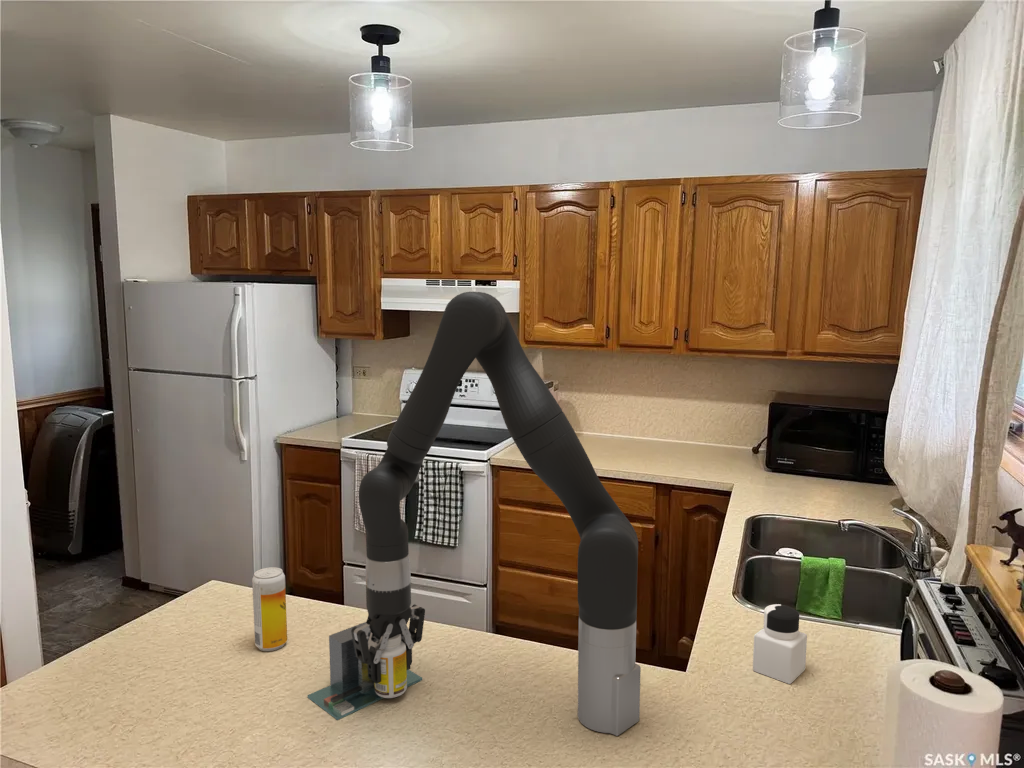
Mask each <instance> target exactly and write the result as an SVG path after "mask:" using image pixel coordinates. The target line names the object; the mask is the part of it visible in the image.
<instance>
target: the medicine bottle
mask: <svg viewBox="0 0 1024 768" xmlns="http://www.w3.org/2000/svg"><path fill="white" fill-rule="evenodd" d="M799 628H800V613H799V612H798V610H797V609H795V608H793V607H792V606H789V605H786V604H781V603H780V604H779V603H778V604H777V603H775V604H770V605H767V606H766V607H765V608H764V611H763V628H762V629H760V630H759V631H758V632H756V633H755V634H754V636H753V653H752V654H753V655H752V656H753V657H752V670H753V672H755V673H758V674H761V675H764V676H766V677H769V678H772V679H774V680H778V681H780V682H783V683H785V684H787V685H791V684H792V683H793V682H794V681H795V680H796V679H797V678H798V677H799V676H800V675H802V674H803V672H804V671H805V670H806V664H807V663H806V661H807V660H806V659H807V646H808V645H807V644H808V643H807V642H808V635H807V633H805V632H801V631H799Z"/></svg>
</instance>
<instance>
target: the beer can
mask: <svg viewBox="0 0 1024 768" xmlns="http://www.w3.org/2000/svg"><path fill="white" fill-rule="evenodd" d="M251 581H252V607H253V632H254V645H255V646H256V647H257V648H258V650H260V651H261V652H273V651H277V650H280V649H282V648H283V647H284V646H285V644H286V643H287V641H288V626H287V623H288V621H287V619H288V618H287V599H286V597H287V596H286V575H285V573H284V572H283V569H282V568H280V567H275V566H274V567H273V566H271V567H270V566H269V567H263V568H261V569H258V570H256V571H255V572H254V573H253V576H252V578H251Z"/></svg>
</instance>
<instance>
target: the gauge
mask: <svg viewBox="0 0 1024 768" xmlns="http://www.w3.org/2000/svg"><path fill="white" fill-rule="evenodd" d="M365 624H366V621H364V622H362V623H359V624H356V625H354V626H351V627H349V628H346V629H343V630H340V631H337V632H335V633H332V634H330V635H328V641H329V642H328V646H329V647H328V649H329V676H330V677H329V679H330V683H329V684H330V685H328V686H325V687H323V688H321V689H318V690H316V691H313V692H312V693H310V694H307V696H306V697H307V698H308V699H309V700H310V701H311V702H313V703H314V704H315V705H317V706H318V707H320V708H321V709H322V710H323V711H324V712H326V713H327V714H329V715H330V716H331V717H333V718H334V719H335V720H336V721H338V720H341V719H342V718H343V719H344V718H345V717H346V716H347V717H348V716H349V715H351V714H353V713H355V712H357V711H359V710H361V709H364V708H366V707H367V706H370V705H373V704H374V703H377V702H378V701H381V700H383V699H384V698H383V697H380V696H378V695H377V694H376V692H375V688H374V689H372V690H370V691H367V692H365V693H363V694H362V693H360V692H356V693H354V694H352V695H350V696H348V697H345V698H343V699H341V700H339V701H336V702H334V703H332V702H331V699H330V698H332V697H335V696H337V695H339V694H341V693H344V692H346V691H348V690H350V689H353V688H355V687H357V686H359V672H358V659H357V657H356V653H355V648H354V643H353V638H352V633H351V630H352V628H353V627H357V628H360V627H361V626H363V625H365ZM370 634H371V631H369V632H368V637H370ZM368 640H369V638H368V639H367V643H368ZM377 641H378V639H377ZM421 681H423V677H422V676H421V675H418V674H417V673H415V672H414V671H412V670H410V669H408V670H407V688H408V687H410V686H413V685H415V684H417V683H419V682H421Z"/></svg>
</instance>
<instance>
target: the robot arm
mask: <svg viewBox="0 0 1024 768" xmlns="http://www.w3.org/2000/svg"><path fill="white" fill-rule="evenodd" d="M475 359H476V361H477V362H478V363H479V365H480V366H481V368H482V370H483V371H484V373H485V374H486V376H487V378H488V380H489V381H490V383H491V386H492V388H493V391H494V394H495V397H496V400H497V404H498V406H499V410H500V413H501V416H502V418H503V422H504V424H505V426H506V428H507V431H508V433H509V434H510V437H511V439H512V440H513V442H514V443H515V445H516V447H517V449H518V451H519V452H520V454H521V456H522V457H523V459H524V460H525V462H526V464H527V465H528V466H529V467H530V468H531V471H533V472H534V473H535V476H537V478H539V479H540V480H541V481H542V482H543V484H545V485H546V486H547V487H548V488H549V489H550V490H551V491H552V492H553V493H554V494H555V496H557V498H558V499H559V500H560V501H561V503H562V504H563V506H564V507H565V509H566V511H567V513H568V514H569V517H570V518H571V521H572V523H573V524H574V527H575V528H576V530H577V533H578V536H579V538H580V540H579V541H580V542H579V545H578V549H577V604H578V642H577V643H578V645H577V648H578V649H577V650H578V652H577V654H578V655H577V658H578V659H577V718H578V721H579V722H580V723H581V724H582V725H583V726H584V727H586V728H587V729H589V730H591V731H595V732H599V733H603V734H604V733H605V734H612V735H614V736H616V737H617V736H619V735H621V734H622V733H624V732H625V731H627V730H628V729H630V728H631V727H633V726H634V725H635V724H636V723H638V722H640V715H641V714H640V712H641V711H640V707H641V704H640V703H641V702H640V701H641V670H642V669H641V668H642V667H641V666H640V665H639V664H638V663H636V648H637V615H638V614H637V613H638V610H637V609H638V597H637V596H638V572H639V571H638V570H639V569H638V564H639V539H638V535H637V531H636V530H635V528H634V526H633V525H632V523H631V522H630V520H629V519H628V517H626V515H625V514H624V512H623V511H622V510H621V508H620V507H619V506H618V504H617V503H616V501H614V499H613V498H612V496H611V495H610V493H609V492H608V491H607V489H606V487H605V486H604V485H603V483H602V482H601V480H600V478H599V476H598V474H597V472H596V470H595V468H594V467H593V464H592V462H591V460H590V458H589V455H588V454H587V452H586V450H585V448H584V447H583V444H582V442H581V441H580V439H579V437H578V435H577V433H576V432H575V430H574V428H573V427H572V424H571V422H570V421H569V419H568V417H567V416H566V414H565V412H564V411H563V408H561V406H560V404H559V402H557V400H556V398H555V397H554V395H553V393H552V392H551V390H550V389H549V387H548V386H547V385H546V383H545V382H544V380H543V378H542V377H541V376H540V374H539V373H538V371H537V370H536V369H535V367H534V366H533V365H532V363H531V362H530V360H529V358H528V356H527V355H526V353H525V351H524V349H523V347H522V345H521V343H520V340H519V339H518V336H517V334H516V332H515V329H514V327H513V325H512V324H511V321H510V318H509V316H508V314H507V311H506V309H505V308H504V306H503V305H502V303H501V302H500V301H499V300H498V299H497V298H496V297H495V296H493V295H491V294H489V293H487V292H482V291H465V292H462V293H460V294H459V293H458V294H457V295H456V296H454V297H452V299H450V301H449V302H448V303H447V304H446V306H445V309H444V310H443V314H442V317H441V320H440V322H439V325H438V327H437V332H436V335H435V338H434V341H433V344H432V347H431V350H430V351H429V355H428V356H427V359H426V362H425V365H424V366H423V368H422V369H423V370H422V371H421V373H420V375H419V378H418V380H417V381H416V382H415V386H414V388H413V389H412V391H411V393H410V395H409V397H408V399H407V401H406V403H405V404H404V405H403V408H402V410H401V411H400V414H399V415H398V417H397V420H395V421H396V422H395V423H394V425H393V426H392V429H391V430H390V433H389V435H388V438H387V439H386V440H387V441H386V446H387V448H386V451H385V452H384V454H383V456H382V459H380V461H379V463H378V465H377V466H376V467H374V468H372V469H371V470H369V471H368V472H367V473H366V474H364V476H363V477H362V479H361V480H360V483H359V488H358V505H359V509H360V514H361V518H362V522H363V526H364V529H365V533H366V535H365V538H366V539H365V542H366V545H365V546H366V547H365V548H366V559H365V560H366V561H365V597H366V598H365V600H366V603H365V605H366V610H367V619H366V621H365V622H366V624H365V625H363V626H361V627H360V628H357V627H353V626H352V627H353V628H352V630H351V633H352V638H353V643H354V648H355V653H356V657H357V659H359V660H360V661H362V662H364V663H365V664H367V666H368V678H369V679H370V680H371V681H373V682H374V683H376V684H377V683H379V682H381V665H380V662H379V661H380V657H381V654H382V651H383V650H385V648H386V645H387V641H388V639H389V638H391V637H394V636H396V635H399V634H401V641H402V642H404V643H405V645H406V665H407V670H408V669H409V670H410V669H411V666H412V663H413V648H414V646H415V644H416V643H420V642H421V641H422V638H423V632H424V623H425V616H426V615H425V614H426V609H425V608H423V607H422V606H421V605H417V604H416V603H414V604H413V605H412V579H411V562H410V555H409V554H410V553H409V552H410V551H409V528H408V525H407V523H406V521H404V520H403V519H402V517H401V501H402V500H403V499H406V497H407V495H408V494H409V493H410V491H411V490H412V488H413V486H414V484H415V482H416V481H417V477H418V476H419V473H420V470H421V468H422V465H423V461H424V459H425V457H426V456H427V455H428V453H429V451H430V449H431V448H432V446H433V444H434V442H435V440H436V439H437V437H438V436H439V435H438V434H439V433H440V431H441V429H442V428H443V426H444V423H445V420H446V418H447V415H448V413H449V412H450V411H449V410H450V407H451V404H452V401H453V399H454V396H455V393H456V391H457V388H458V387H459V384H460V383H461V381H462V379H463V376H464V375H465V374H466V372H467V370H468V368H470V366H471V364H472V363H473V362H474V361H475ZM411 605H412V606H411ZM408 623H409V625H408ZM369 631H371V634H370V637H368V632H369ZM368 638H369V640H368V643H367V639H368ZM377 639H379V640H380V642H378V641H377ZM368 644H369V646H368ZM374 651H375V652H374Z"/></svg>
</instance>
